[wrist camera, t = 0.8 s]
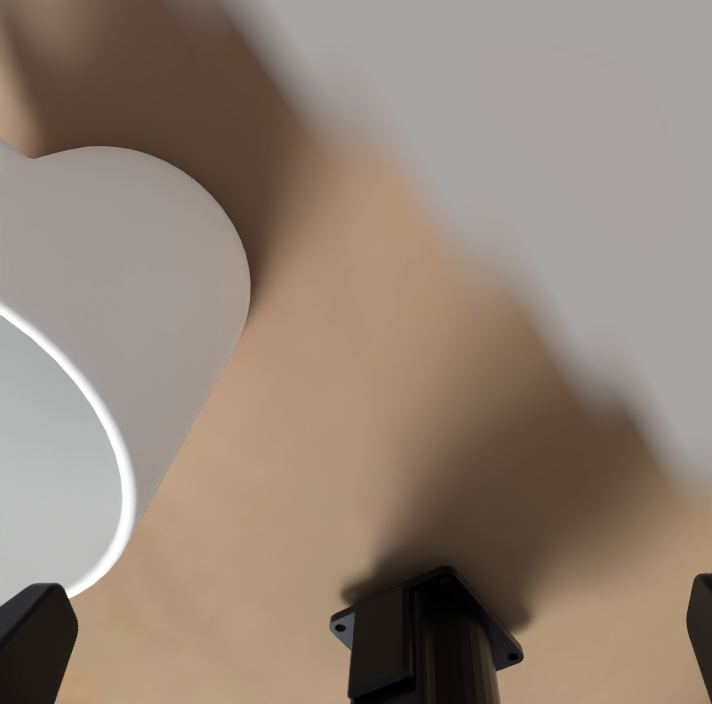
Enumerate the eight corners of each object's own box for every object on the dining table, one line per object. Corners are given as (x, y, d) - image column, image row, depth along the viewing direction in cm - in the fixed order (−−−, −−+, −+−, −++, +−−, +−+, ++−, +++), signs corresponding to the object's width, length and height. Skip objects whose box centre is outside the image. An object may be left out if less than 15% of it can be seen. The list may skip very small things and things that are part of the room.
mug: (54, -27, 17) (-383, -110, 8) (306, 304, 21) (227, 520, 12) (-122, 149, 20) (-610, 252, 10) (132, 413, 24) (-48, 660, 14)
